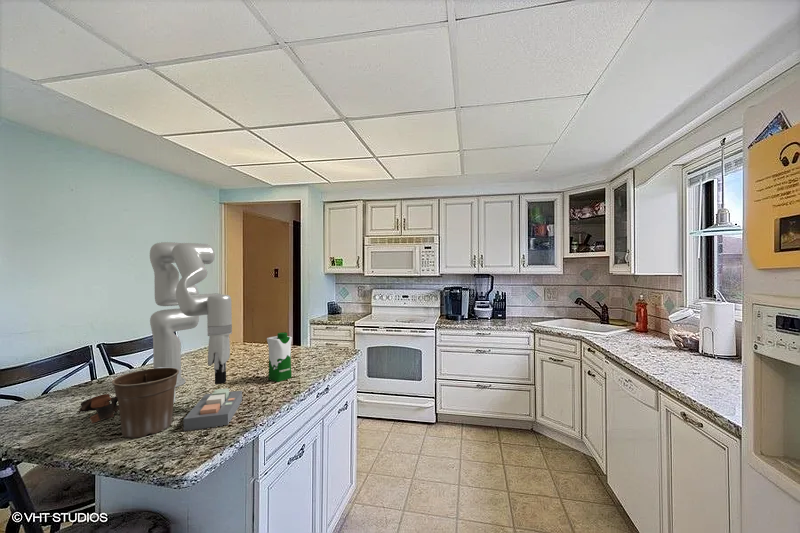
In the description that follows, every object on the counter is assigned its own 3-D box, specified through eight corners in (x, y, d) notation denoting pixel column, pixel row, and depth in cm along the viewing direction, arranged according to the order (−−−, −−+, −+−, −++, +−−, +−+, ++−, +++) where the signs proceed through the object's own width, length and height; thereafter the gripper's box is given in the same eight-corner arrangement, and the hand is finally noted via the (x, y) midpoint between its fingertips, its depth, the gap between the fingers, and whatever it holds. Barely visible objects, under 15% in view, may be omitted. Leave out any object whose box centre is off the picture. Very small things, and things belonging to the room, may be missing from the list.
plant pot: (159, 440, 95) (158, 382, 95) (97, 444, 93) (96, 385, 94) (190, 415, 111) (189, 366, 111) (137, 418, 110) (136, 368, 110)
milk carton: (277, 383, 142) (276, 335, 142) (264, 379, 147) (264, 333, 148) (294, 377, 149) (294, 332, 149) (282, 374, 154) (281, 330, 155)
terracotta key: (204, 414, 108) (204, 405, 108) (220, 412, 109) (220, 403, 109) (200, 420, 104) (200, 410, 104) (216, 418, 105) (216, 408, 105)
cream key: (210, 404, 114) (210, 395, 114) (224, 403, 115) (224, 394, 115) (206, 409, 109) (206, 400, 109) (221, 408, 110) (221, 398, 111)
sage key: (215, 398, 119) (215, 389, 120) (229, 396, 121) (229, 388, 121) (211, 402, 115) (211, 393, 115) (226, 401, 116) (225, 392, 116)
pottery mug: (79, 428, 104) (72, 403, 106) (88, 431, 112) (82, 407, 114) (127, 409, 111) (120, 385, 113) (133, 412, 118) (126, 390, 121)
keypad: (205, 404, 121) (205, 393, 121) (242, 400, 124) (242, 390, 124) (183, 430, 100) (183, 418, 100) (228, 425, 103) (227, 413, 103)
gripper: (214, 327, 124) (214, 377, 124) (200, 334, 110) (201, 391, 110) (236, 326, 126) (237, 375, 126) (226, 333, 112) (227, 389, 112)
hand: (220, 383), depth 118 cm, fingers closed
